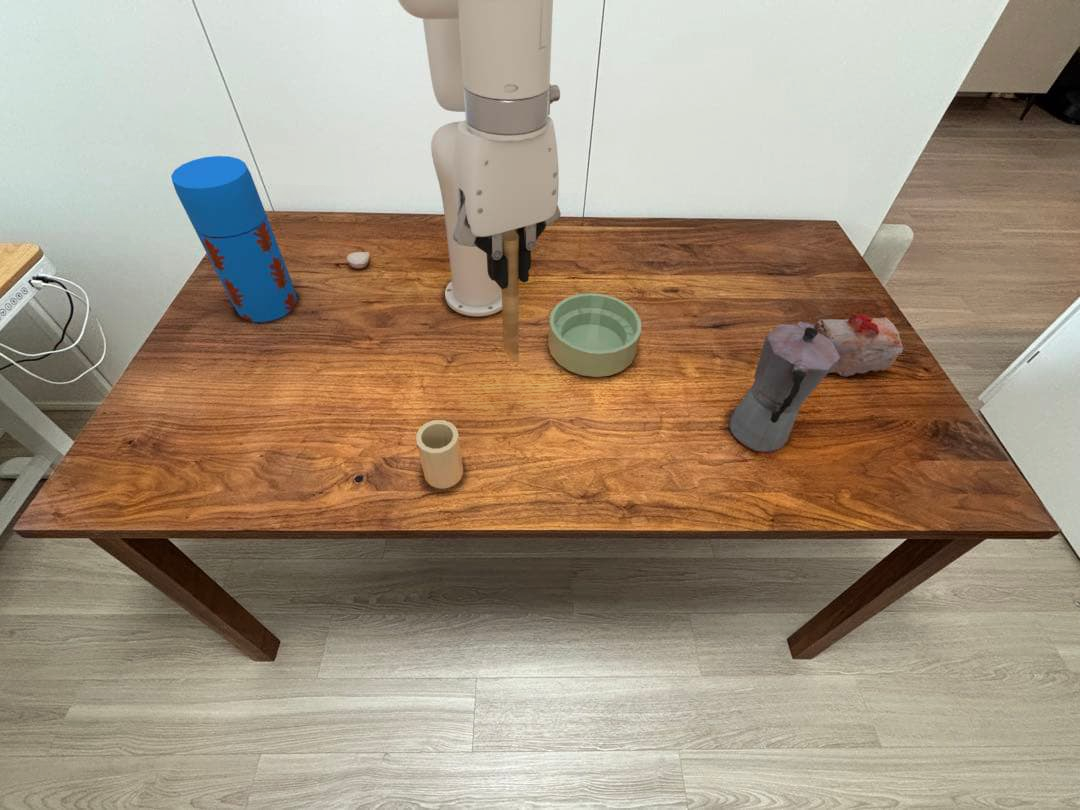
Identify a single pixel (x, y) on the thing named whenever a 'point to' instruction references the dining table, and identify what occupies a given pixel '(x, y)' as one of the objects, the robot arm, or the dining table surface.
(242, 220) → the thermos
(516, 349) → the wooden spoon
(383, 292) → the dining table surface
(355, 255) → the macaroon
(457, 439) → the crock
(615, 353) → the bowl
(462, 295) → the robot arm
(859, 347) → the food item
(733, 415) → the moka pot
